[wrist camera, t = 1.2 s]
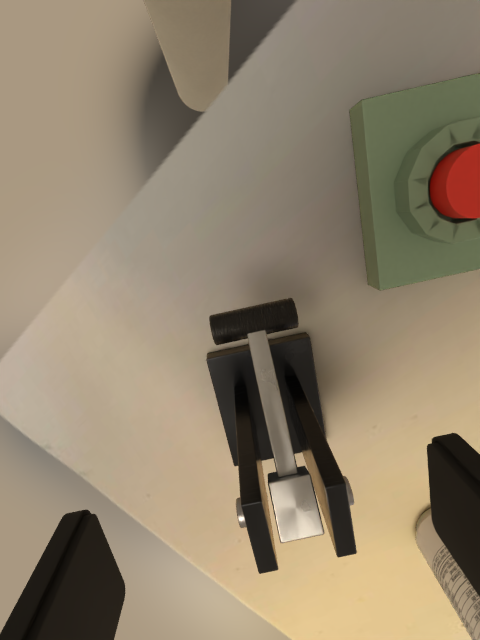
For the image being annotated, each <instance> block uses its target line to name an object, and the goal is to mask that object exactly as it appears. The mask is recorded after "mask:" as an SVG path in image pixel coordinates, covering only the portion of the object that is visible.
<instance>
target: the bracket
mask: <svg viewBox="0 0 480 640" xmlns="http://www.w3.org/2000/svg"><path fill="white" fill-rule="evenodd" d="M268 343H269V347H270V352H271V356H272V360H273V365H274V369H275V373H276V378H277V382H278V387H279V391H280V395H281V400H282V404H283V408H284V413H285V417H286V421H287V426H288V430H289V434H290V439H291V443H292V448H293V452H294V454H295V453H300V452H302V453H303V456H304V459H305V462H306V465H307V468H308V471H309V473H310V475H311V479H312V483H313V486H314V489H315V492H316V495H317V498H318V501H319V504H320V507H321V510H322V513H323V516H324V519H325V522H326V525H327V528H328V531H329V534H330V537H331V540H332V543H333V546H334V549H335V552H336V555H337V557H343V556H347V555H352V554H356V553H357V551H356V545H355V538H354V531H353V525H352V518H351V512H350V505H353V504H354V498H353V493H352V490H351V487H350V484H349V481H348V479H347V478H346V476H343V475H342V473H341V471H340V469H339V467H338V465H337V462H336V460H335V458H334V456H333V454H332V451H331V449H330V447H329V445H328V443H327V439H326V433H325V427H324V421H323V415H322V409H321V403H320V396H319V390H318V384H317V378H316V372H315V366H314V360H313V354H312V348H311V342H310V337H309V336H308V334H307V333H306V332H305V333H300V334H296V335H291V336H286V337H282V338H277V339H273V340H268ZM207 364H208V368H209V371H210V375H211V379H212V383H213V387H214V390H215V394H216V398H217V402H218V406H219V410H220V413H221V417H222V421H223V425H224V429H225V432H226V436H227V440H228V444H229V448H230V452H231V455H232V459H233V463H234V466H238V467H239V483H240V498H237V499H236V510H237V516H238V521H239V525H240V527H241V528H244V527H247V531H248V534H249V538H250V542H251V546H252V549H253V553H254V557H255V561H256V564H257V568H258V572H259V574H261V573H266V572H271V571H275V570H278V564H277V557H276V551H275V545H274V538H273V532H272V525H271V519H270V513H269V506H268V500H267V493H266V487H265V481H264V474H263V468H262V460H267V459H272V458H274V457H273V452H272V448H271V443H270V439H269V434H268V429H267V425H266V420H265V415H264V411H263V406H262V402H261V397H260V392H259V388H258V383H257V378H256V374H255V369H254V365H253V360H252V355H251V351H250V346H249V345H245V346H240V347H236V348H231V349H226V350H222V351H217V352H213V353H208V354H207Z"/></svg>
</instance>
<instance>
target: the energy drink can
mask: <svg viewBox="0 0 480 640" xmlns="http://www.w3.org/2000/svg"><path fill="white" fill-rule="evenodd" d="M416 532H417V533H416V544H417V546H418V548H419V550H420V551H421V553H422V555H423V556H424V558H425V560H426V561H427V563H428V565H429V567H430V568H431V570H432V572H433V573H434V575H435V577H436V579H437V580H438V582H439V584H440V585H441V587H442V589H443V591H444V592H445V594H446V596H447V597H448V599H449V601H450V602H451V604H452V606H453V608H454V609H455V611H456V613H457V614H458V616H459V618H460V620H461V621H462V623H463V625H464V626H465V628H466V630H467V632H468V633H469V635H470V637H471V638H472V640H480V597H479V596H478V594H477V593H476V591H475V590H474V588H473V587H472V585H471V584H470V582H469V581H468V579H467V578H466V576H465V575H464V573H463V572H462V570H461V569H460V567H459V566H458V564H457V563H456V561H455V560H454V558H453V557H452V555H451V554H450V552H449V551H448V549H447V548H446V546H445V545H444V543H443V542H442V541H441V539H440V538H439V536H438V534H437V533H436V531H435V529H434V526H433V523H432V518H431V508H430V509H428V510H427V511H425V512H424V513H423V514H422V515H421V517H420V518H419V520H418V522H417V525H416Z"/></svg>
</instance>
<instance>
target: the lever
mask: <svg viewBox="0 0 480 640" xmlns="http://www.w3.org/2000/svg"><path fill="white" fill-rule="evenodd" d="M209 321H210V327H211V332H212V336H213V340H214V342H215V344H216V345H219V344H224V343H228V342H233V341H238V340H242V339H247V338H248V342H249V346H250V351H251V355H252V360H253V365H254V369H255V374H256V378H257V383H258V388H259V392H260V397H261V402H262V406H263V411H264V415H265V420H266V425H267V429H268V434H269V439H270V443H271V448H272V452H273V457H274V462H275V466H276V471H277V472H273V473H269V474H268V486H269V490H270V495H271V500H272V505H273V509H274V514H275V519H276V524H277V528H278V533H279V538H280V542H281V543H285V542H289V541H294V540H299V539H304V538H309V537H314V536H318V535H323V534H324V529H323V525H322V521H321V517H320V512H319V508H318V504H317V500H316V495H315V491H314V487H313V483H312V479H311V475H310V473H309V472H308V470H307V469H306V467H305V466H302V467H297V465H296V461H295V456H294V452H293V448H292V443H291V439H290V434H289V430H288V426H287V421H286V417H285V413H284V408H283V404H282V400H281V395H280V391H279V387H278V382H277V378H276V373H275V369H274V365H273V360H272V356H271V352H270V347H269V343H268V339H267V334H270V333H274V332H279V331H284V330H288V329H293V328H297V327H298V324H299V323H298V315H297V310H296V307H295V303H294V301H293V299H292V298H288V299H283V300H279V301H274V302H269V303H265V304H260V305H256V306H251V307H247V308H242V309H237V310H233V311H228V312H224V313H219V314H214V315H211V316H210V317H209Z"/></svg>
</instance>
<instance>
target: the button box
mask: <svg viewBox="0 0 480 640" xmlns="http://www.w3.org/2000/svg"><path fill="white" fill-rule="evenodd" d="M349 112H350V121H351V130H352V140H353V149H354V159H355V168H356V177H357V187H358V196H359V205H360V215H361V224H362V234H363V243H364V252H365V262H366V271H367V280H368V285H370V286H372V287H374V288H376V289H378V290H380V291H381V290H385V289H390V288H394V287H399V286H403V285H408V284H413V283H417V282H422V281H426V280H431V279H436V278H440V277H445V276H449V275H454V274H459V273H463V272H468V271H472V270H477V269H480V218H451V217H447V216H445V215H443V214H441V213H440V212H439V211H438V210H437V209H436V208H435V207H434V205H433V203H432V201H431V197H430V181H431V177H432V174H433V172H434V170H435V168H436V167H437V165H438V164H439V163H440V161H441V160H442V159H443V158H444V157H445V156H447V155H448V154H450V153H451V152H453V151H455V150H458V149H461V148H465V147H468V146H472V145H476V144H479V143H480V73H478V74H473V75H469V76H464V77H460V78H456V79H451V80H447V81H442V82H438V83H434V84H429V85H425V86H420V87H416V88H412V89H407V90H403V91H398V92H394V93H390V94H385V95H381V96H376V97H372V98H368V99H363V100H361V101H360V102H359V103H357V104H356V105H355V106H354V107H353V108H351V109H350V110H349Z"/></svg>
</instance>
